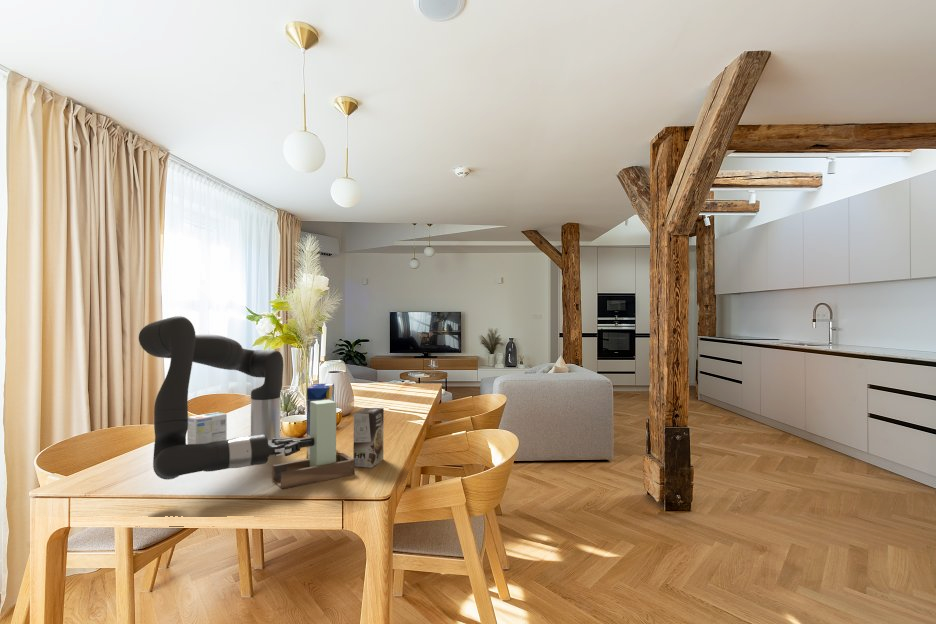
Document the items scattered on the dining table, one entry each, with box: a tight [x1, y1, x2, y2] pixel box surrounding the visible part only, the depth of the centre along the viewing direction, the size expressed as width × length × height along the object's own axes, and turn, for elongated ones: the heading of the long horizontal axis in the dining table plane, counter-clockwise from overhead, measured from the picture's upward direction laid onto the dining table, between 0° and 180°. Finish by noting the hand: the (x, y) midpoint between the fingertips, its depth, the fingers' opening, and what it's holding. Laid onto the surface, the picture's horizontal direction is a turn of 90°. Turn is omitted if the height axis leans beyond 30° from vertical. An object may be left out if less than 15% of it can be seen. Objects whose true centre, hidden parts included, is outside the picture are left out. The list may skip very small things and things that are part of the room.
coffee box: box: [352, 407, 385, 469], centre depth 149 cm, size 9×6×16 cm
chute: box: [271, 452, 356, 490], centre depth 136 cm, size 9×20×4 cm, turn 127°
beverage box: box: [306, 383, 335, 459], centre depth 159 cm, size 7×11×22 cm, turn 8°
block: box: [309, 400, 337, 467], centre depth 137 cm, size 6×6×20 cm
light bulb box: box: [186, 411, 228, 444], centre depth 168 cm, size 11×7×11 cm, turn 144°
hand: (313, 441), depth 136 cm, fingers closed
